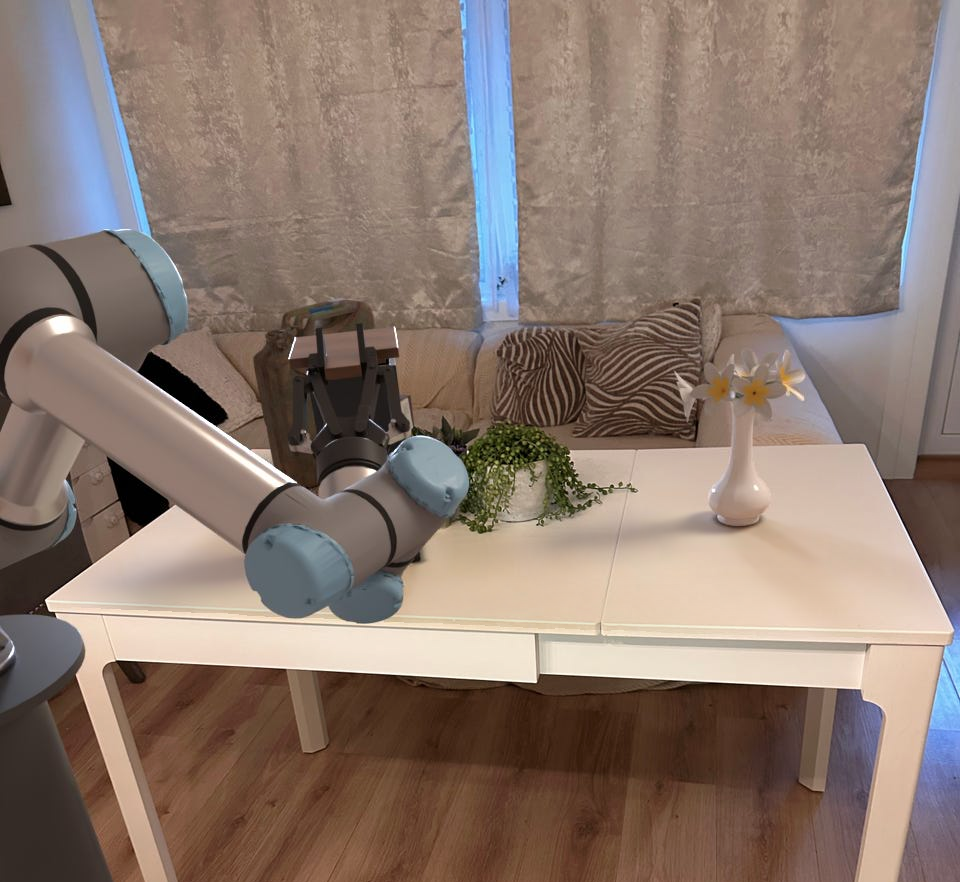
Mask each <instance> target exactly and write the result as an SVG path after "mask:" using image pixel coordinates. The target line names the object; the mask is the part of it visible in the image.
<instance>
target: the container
mask: <svg viewBox="0 0 960 882" xmlns="http://www.w3.org/2000/svg"><path fill="white" fill-rule="evenodd" d="M292 318H294V320H293V323H292V324H291V319H292ZM305 319H306V323H305V325H304V324H303V321H304V320H305ZM359 323H362V324H363V330H369V329H376V323H375V319H374V313H373V309H372V308H371V306H370V305H368V303H367V302H365V301H363V300H357V299H349V298H348V299H347V298H333V299H328V300H323V301H320V302H316V303H312V304H308V305H305V306H301V307H296V308H294V309H293V308H292V309H288V310H287V311H285V312H284V313H283V314H282V319H281V325H280V328H277V329H273V330H269V331H267V332H266V333H265V334H264V338H265V344H264V345H263V347H262V349H261V350H259V351H258V352H256V353H255V354H254V355H253V356H252V362H253V369H254V374H255V379H256V384H257V390H258V395H259V401H260V406H261V409H262V410H261V411H262V416H263V421H264V425H265V427H266V432H267V441H268V445H269V450H270V455H271V456H270V457H271V461H272V466H273V467H275V468H276V469H278V470H279V471H280V472H282V473H283V474H285V475H286V476H288V477H289V478H291V479H292V480H294V481H295V482H296V483H298V484H299V485H301V486H302V487H305V488H314V487H316V486H318V477H317V461H316V460H315V459H314V457H313V455H312V454H310V453H304V452H302V454H301V455H300V456H293V455H292V454H291V450H290V447H289V443H288V439H287V436H288V434H289V431H290V429H291V427H292V425H293V378H294V377H295V376H298V375H299V376H302V377H304V376H306V375H307V372H308V371H306V368H299V369H290V365H289V357H290V354H291V350H292V347H293V344H294V341H295V338H296V337H305V336H314V335H316V328H322V330H323V334H332V333H342V332H351V331H357V329H356V324H359ZM303 325H304V327H303ZM307 409H308V433H309V435H310V439H311V441H313V440H314V439H315V437H316V436H317V432H316V426H315V420H314V414H313V409H312V403H311V397H310V393H308V394H307Z"/></svg>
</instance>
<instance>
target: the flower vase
mask: <svg viewBox="0 0 960 882" xmlns="http://www.w3.org/2000/svg"><path fill="white" fill-rule="evenodd" d="M779 357H780V354H779V353H778V352H777V351H771V352H768V353H767V354H765V355H763V357H762V358H760V360H758V356H757V355H756V353H755V352H754V351H753V350H752V349H751V348H748V347H744V348H742V351H741V359H742V362H743V364H741V363H735V361H734V360H735V353H732V354H731V355H730V357H729V359H728V361H727V363H726V366H725V367H724V368H723V370H721V371H719V370H718V368H717V367H716V366H715V365H714V364H713V363H712V362H710V361H709V362H708V361H707V362H706V363H704V366H703V374H704V377H705V380H706V381H707V383H703V384H699V385H697V386H695V387H692V386H691V385H690V384H688V383H687V382H686V381H685V380H684V379H683V378H682V377H681V376H680V375H679V374H678V373H677V372H676V371H675V370H673V371H674V375H675V377H676V379H677V381H676V385H677V389H678V391H679V395H680V398H681V400H682V402H683V412H684V417H685V418H686V423H688V422H689V420H690V414H691V412H692V408H693V405H694V403H695V401H696V399H697V400H698V399H700V400H702V401H706V402H705V404H704V408H703V410H704V415H705V416H710V415H712V414H713V413H714V411H715V410H716V409H717V407H718V405H719V403H720V402H721V401H723V402H728V403H729V405H730V411H731V412H730V413H731V423H732V424H731V438H730V439H731V440H730V451H729V457H728V458H729V459H728V463H727V465H726V468H725V471H724V472H723V474H722V475H721V477H720V478H719V479H718V480H716V482H714V483H713V485H711V487H710V489H709V492H708V494H707V495H708V496H707V504H708V506H709V508H710V509H711V511H712V512H714V513H715V514H716V515H717V520H718V521H719V522H720V523H721V524H723V525H727V526H732V527H746V526H751V525H754V524H756V523H758V521H759V520H760V517H761V516H760V515H762V514H764V513H765V512H766V511H767V510H768V509H769V507H770V505H771V503H772V492H771V490H770V488H769V487H768V484H767V483H766V482H765V481H764V480H763V479H762V478H761V477H760V476H759V474H758V472H757V470H756V467H755V462H754V451H753V450H754V449H753V448H754V420H755V416H756V415H757V416H758V417H759V418H760V419H761V420H763V421H765V422H768V421H770V420H771V419H772V418H773V417H772V416H773V410H772V406H771V403H770V402H769V400H774V399H778V398H781V397H782V396H784V395H785V396H786V397H790V396H791V395H792V396H794V397H795V398H796V399H797V400H799V401H800V402H803V403H804V402H805V396H804V393H803V392H802V391H801V388H800V387H798V386H797V384H800V383H802V382H804V380H805V378H806V374H805V371H804V370H803V369H801V368H793V369H791V367H792V356H791V352H790V351H789V350H788V349H785V351H784V353H783V357H782V361H780V360H779ZM774 365H775V369H772V368H773V366H774Z"/></svg>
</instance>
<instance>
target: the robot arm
mask: <svg viewBox="0 0 960 882" xmlns="http://www.w3.org/2000/svg"><path fill="white" fill-rule="evenodd" d="M188 317H189V305H188V297H187V294H186V291H185V288H184V282H183V279H182V277H181V275H180V273H179V271H178V268H177V267H176V265H175V263H174V262H173V260H172V259H171V257H170V256H169V255H168V252H166V250H165V249H164V248H163V246H161V245H160V244H159V243H158V242H157V241H156V240H154V239H153V238H152V237H151V236H149V235H148V234H146V233H145V232H142V231H139V230H136V229H131V228H125V229H111V228H107V229H106V228H105V229H102V230H100V231H95V232H92V233H86V234H81V235H76V236H70V237H65V238H61V239H54V240H50V241H45V242H39V243H35V244H28V245H20V246H19V245H18V246H13V247H9V248H4V249H1V250H0V395H1V396H2V397H4V398H5V399H7V400H8V401H9V402H11V405H10V407H9V410H8V412H7V413H6V418H5V420H4V422H3V425H2V427H1V430H0V570H2V569H5V568H7V567H9V566H11V565H13V564H16V563H18V562H20V561H22V560H24V559H27V558H29V557H31V556H34V555H36V554H37V553H41V552H42V553H43V552H45V551H48V550H49V549H51V548H53V547H55V546H56V545H57V544H58V543H60V542H62V541H64V540H65V539H67V537H68V536H69V535H70V534H71V532H72V531H73V529H74V527H75V525H76V520H77V509H76V508H75V507H74V504H75V503H76V499H75V496H74V495H75V494H74V492H73V490H72V488H71V486H70V484H69V482H68V481H67V477H68V475H69V473H70V471H71V469H72V467H73V465H74V463H75V461H76V460H77V458H78V455H79V454H80V452H81V449H82V448H83V446H84V444H85V442H86V443H87V444H89V445H91V446H92V447H93V448H95V449H96V450H97V451H99V452H100V453H101V454H103V455H105V456H106V457H107V458H109V459H110V460H111V461H113V462H115V464H117V465H119V466H120V467H122V468H123V469H124V470H126V471H127V472H128V473H130V474H131V475H132V476H134V477H136V478H137V479H138V480H140V481H141V482H142V483H144V484H145V485H147V486H148V487H150V488H151V489H152V490H154V491H155V492H157V493H158V494H160V495H161V496H162V497H164V498H165V499H166V500H168V501H169V502H171V503H172V504H173V505H175V506H176V507H178V508H179V509H181V510H182V511H183V512H185V513H186V514H188V515H189V516H190V517H191V518H192V519H195V520H196V521H198V523H200V524H202V525H203V526H204V527H206V528H207V529H208V530H210V531H211V532H213V533H214V534H216V535H217V536H218V537H219V538H221V539H223V540H224V541H226V542H227V543H228V544H229V545H231V546H233V547H234V549H237V550H238V551H240V552H241V553H242V554H243V555H244V561H243V565H244V574H245V577H246V580H247V582H248V585H249V587H250V589H251V590H252V592H256V593H257V594H258V595H259V597H260V602H261V604H262V605H264V607H266V608H267V609H268V610H269V611H271V612H272V613H274V614H276V615H278V616H279V617H280V616H281V617H282V618H287V619H294V620H297V619H305V618H307V617H310V616H312V615H314V614H316V613H318V612H319V611H321V610H323V609H325V608H327V607H328V608H329V610H330V612H331V613H332V614H333V615H334V616H335V617H337V618H338V619H341V620H343V621H344V622H349V623H356V624H360V625H361V624H362V625H366V624H376V623H380V622H382V621H386V620H387V619H390V618H392V617H393V616H394V615H396V614H397V613H398V611H400V609H401V607H402V605H403V603H404V588H405V584H404V583H405V582H404V581H403V574H404V571H405V570H406V569H407V568H408V567H409V566H410V565H411V563H413V562H412V561H413V560H414V558H415V556H416V555H417V553H418V552H419V551H421V550H422V549H423V548H424V546H425V545H426V544H427V543H428V542H429V541H430V540H431V539H432V538H433V536H434V535H436V534H437V532H438V531H439V529H441V527H442V526H444V524H445V523H446V522H447V521H448V519H450V518H451V517H453V516H454V515H455V514H456V510H457V509H458V508H459V506H460V504H461V503H462V501H463V500H464V499H465V497H466V496H467V494H468V492H469V487H470V478H469V474H468V471H467V468H466V465H465V464H464V462H463V461H462V459H461V457H459V456H457V454H455V453H454V452H453V450H452V448H451V447H449V446H448V445H446V444H445V443H443V442H442V441H440V440H438V439H436V438H434V437H430V436H425V435H416V436H412V437H411V430H410V422H409V421H408V419H407V418H406V417H405V415H404V414H403V413H402V409H401V404H400V399H399V394H400V392H399V393H398V388H397V382H396V377H395V372H394V367H393V366H392V365H386V366H385V367H380V366H378V362H377V355H376V349H375V348H374V346H372V347H366V343H365V336H364V330H363V324H362V323H359V324H356V329H357V338H358V348H359V358H360V364H361V370H362V377H363V381H364V385H363V391H362V397H361V402H360V405H359V407H358V413H357V415H353V416H350V417H336V414H335V411H334V409H333V407H332V405H331V402H330V400H329V397H328V394H327V392H326V389H325V386H324V385H329V381H328V380H326V376H325V370H324V368H325V362H326V345H325V340H324V335H323V330H322V328H316V342H317V353H312V354H309V356H308V364H309V366H308V368H307V369H308V375H306V376H304V377H302V376H299V375H298V376H295V377H294V378H293V425H292V427H291V429H290V431H289V434H288V436H287V439H288V443H289V447H290V450H291V454H292V455H293V456H300V455H301V454H302V452H304V453H310V454H312V455H313V457H314V459H315V460H316V461H317V477H318V485H317V487H318V495H316V494H315V493H314V492H311V490H309V489H307V487H303V486H301V485H299V484H298V483H296V482H295V481H294V480H292V479H291V478H289V477H288V476H286V475H285V474H283V473H282V472H280V471H279V470H278V469H276V468H275V467H274V466H273V464H270V463H269V462H267V461H266V460H265V459H263V458H261V456H259V455H257V454H256V453H254V452H253V451H252V450H250V449H249V448H247V447H246V446H244V445H243V444H242V443H240V442H239V441H237V440H236V439H235V438H233V437H231V436H230V435H228V434H227V433H225V432H224V431H222V430H221V429H220V428H219V427H216V425H214V424H213V423H211V422H209V421H208V420H207V419H205V418H204V417H203V416H201V415H199V414H198V413H197V412H195V411H194V410H193V409H190V407H188V406H186V405H185V404H183V403H182V402H180V401H179V400H178V399H176V398H175V397H173V396H172V395H170V394H169V393H168V392H166V391H164V390H163V389H162V388H160V387H159V386H157V385H156V384H155V383H153V382H151V381H150V380H149V379H147V378H146V377H144V376H143V375H141V374H140V373H139V372H140V370H141V369H140V368H142V365H143V364H144V361H145V359H146V357H147V356H148V354H149V353H150V351H151V350H152V349H154V348H155V347H157V346H160V345H161V346H167V345H169V344H171V343H172V341H174V340H176V339H178V338H179V337H180V336H182V334H183V333H184V331H185V329H186V326H187V323H188V319H189V318H188ZM380 384H384V385H386V391H387V397H388V402H389V408H390V414H391V423H389V431H388V432H385V431H384V430H383V429H381V428H380V427H379V426H378V425H376V424H375V423H374V422H373V421H374V415H375V409H376V403H377V397H378V391H379V387H380ZM380 388H381V387H380ZM310 392H313V393H314V396H315V399H316V402H317V404H318V407H319V410H320V413H321V415H322V418H323V421H324V424H325V426H324V428H323V429H322V430H321V431H320V433H319V434H318V435H317V436H316V437H315V439H314V440H313V441H311V439H310V435H309V433H308V409H307V394H308V393H310ZM399 440H401V441H402V443H401V444H400V445H399V446H398V447H397V448H396V450H395V451H394V452H392V453H390V454H389V455H388V458H387V454H388V452H389V450H390V447H391V445H390V444H393V443H395V442H397V441H399ZM16 658H17V654H16V651H15V648H14V646H13V643H12V641H11V640H10V638H9V636H8V635H7V634H6V633H5V632H4V631H3V630H2V628H1V626H0V677H1V676H2V675H4V674H5V673H6V672H7V671H8V670H9V669H10V668H11V667H12V666H13V664H14V663H15V661H16Z"/></svg>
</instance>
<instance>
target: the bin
mask: <svg viewBox="0 0 960 882" xmlns="http://www.w3.org/2000/svg"><path fill="white" fill-rule="evenodd" d="M386 365H392V366H393V367H394V372H395V377H396V382H397V388H398V393H399V399H400V395H401V393H400V388H399V379H398V372H397V364H396V358H389V359H386V362H385V363H378V366H380V367H385V366H386ZM307 375H308V372H307ZM328 381H329V385H324V386H325V389H326V392H327V394H328V397H329V400H330V402H331V405H332V407H333V409H334V411H335V414H336V417H350V416H353V415H357V413H358V407H359V405H360V402H361V397H362V391H363V385H364V381H363V377H362V376H361V377H352V378H343V379H334V380H328ZM380 387H381V388H380ZM380 387H379V391H378V397H377V403H376V409H375V415H374V421H373V422H374V423H375V424H376V425H378V426H379V427H380V428H381V429H383V430H384V431H385V432H388V431H389V423H391V414H390V408H389V402H388V397H387V391H386V385H384V384H380ZM310 397H311V403H312V409H313V414H314V420H315V426H316V432H317V435H318V434H319V433H320V431H321V430H322V429H323V428H324V426H325V424H324V421H323V418H322V415H321V413H320V410H319V407H318V404H317V402H316V399H315V396H314V393H313V392H310ZM400 404H401V402H400ZM401 443H402V441H401V440H399V441H397V442H395V443H393V444H390V445H391V447H390V450H389V452H388V454H387V458H388V455H389V454H390V453H392V452H394V451H395V450H396V448H397V447H398V446H399V445H400V444H401ZM420 551H421V550H420ZM420 551H419V552H418V553H417V555H416V556H415V558H414V560H413V561H412V562H411V563H415V562H417V563H418V562H421V561H422V559H421V552H420Z"/></svg>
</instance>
